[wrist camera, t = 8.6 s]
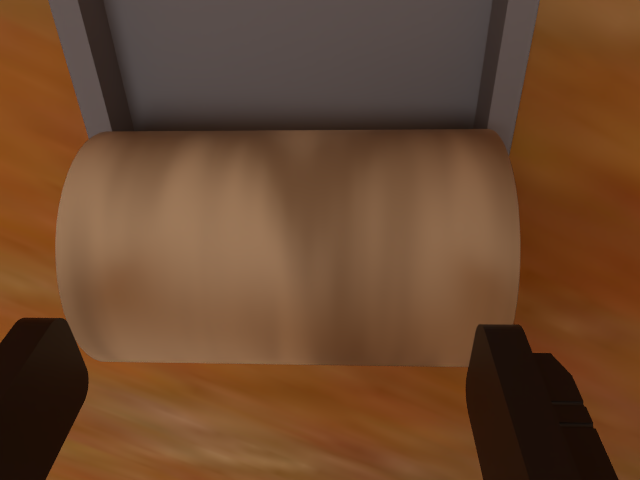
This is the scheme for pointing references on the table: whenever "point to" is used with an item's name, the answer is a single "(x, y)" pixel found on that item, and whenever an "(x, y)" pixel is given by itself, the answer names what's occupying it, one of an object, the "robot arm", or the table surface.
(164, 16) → the runway
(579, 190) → the table surface
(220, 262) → the log roller
